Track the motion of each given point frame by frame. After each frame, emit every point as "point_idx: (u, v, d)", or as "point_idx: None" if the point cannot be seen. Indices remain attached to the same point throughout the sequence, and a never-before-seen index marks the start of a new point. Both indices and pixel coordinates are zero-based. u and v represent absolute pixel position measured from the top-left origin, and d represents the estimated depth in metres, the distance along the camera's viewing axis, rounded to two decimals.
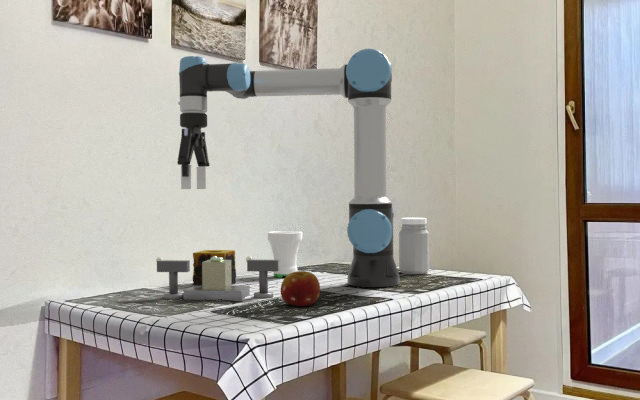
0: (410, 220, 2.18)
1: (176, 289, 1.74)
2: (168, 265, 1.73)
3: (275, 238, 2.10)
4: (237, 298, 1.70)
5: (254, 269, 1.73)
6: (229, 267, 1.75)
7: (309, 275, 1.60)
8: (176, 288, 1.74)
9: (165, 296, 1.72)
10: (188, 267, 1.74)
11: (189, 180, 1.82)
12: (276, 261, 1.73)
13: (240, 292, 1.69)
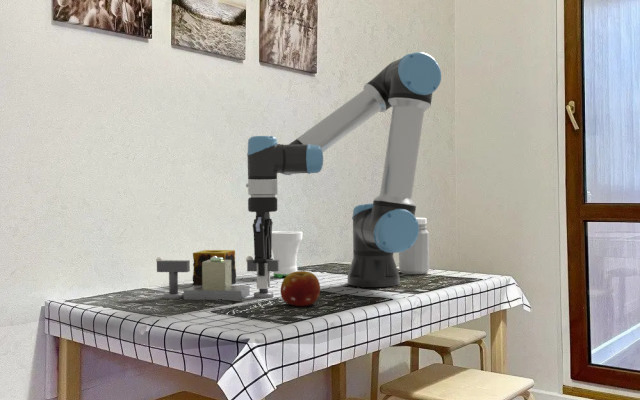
0: None
1: (176, 289, 1.74)
2: (168, 265, 1.73)
3: (275, 238, 2.10)
4: (237, 298, 1.70)
5: (254, 269, 1.73)
6: (229, 267, 1.75)
7: (309, 275, 1.60)
8: (176, 288, 1.74)
9: (165, 296, 1.72)
10: (188, 267, 1.74)
11: (265, 279, 1.72)
12: (276, 261, 1.73)
13: (240, 292, 1.69)
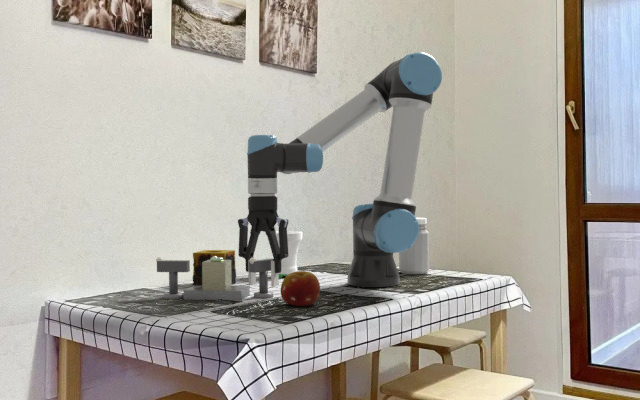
0: None
1: (176, 289, 1.74)
2: (168, 265, 1.73)
3: None
4: (237, 298, 1.70)
5: (260, 270, 1.72)
6: (229, 267, 1.75)
7: (309, 275, 1.60)
8: (176, 288, 1.74)
9: (165, 296, 1.72)
10: (188, 267, 1.74)
11: (277, 276, 1.74)
12: None
13: (240, 292, 1.69)
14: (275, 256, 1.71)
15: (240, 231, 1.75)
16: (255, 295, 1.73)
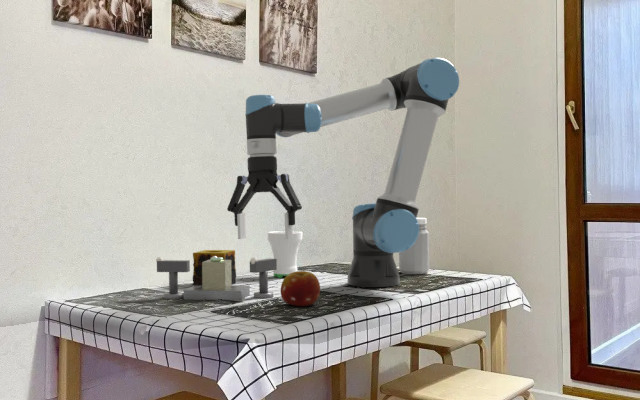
0: None
1: (176, 289, 1.74)
2: (168, 265, 1.73)
3: (275, 238, 2.10)
4: (237, 298, 1.70)
5: (261, 270, 1.72)
6: (229, 267, 1.75)
7: (309, 275, 1.60)
8: (176, 288, 1.74)
9: (165, 296, 1.72)
10: (188, 267, 1.74)
11: (291, 229, 1.72)
12: (275, 259, 1.76)
13: (240, 292, 1.69)
14: (288, 208, 1.70)
15: (236, 188, 1.75)
16: (255, 295, 1.73)
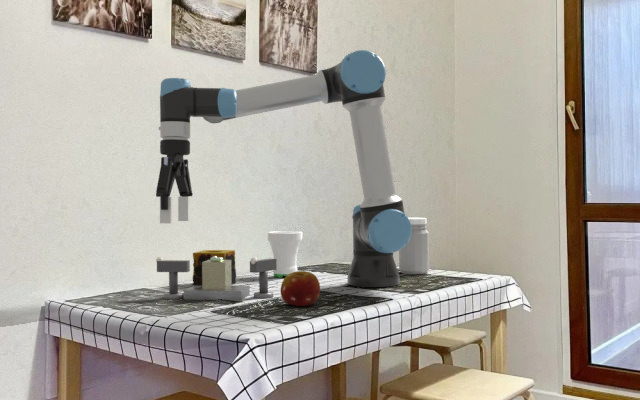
0: (410, 220, 2.18)
1: (176, 289, 1.74)
2: (168, 265, 1.73)
3: (275, 238, 2.10)
4: (237, 298, 1.70)
5: (261, 270, 1.72)
6: (229, 267, 1.75)
7: (309, 275, 1.60)
8: (176, 288, 1.74)
9: (165, 296, 1.72)
10: (188, 267, 1.74)
11: (168, 214, 1.67)
12: (275, 259, 1.76)
13: (240, 292, 1.69)
14: None
15: None
16: (256, 295, 1.73)
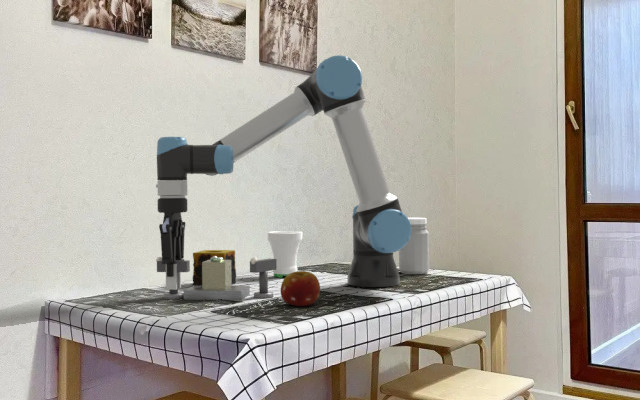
0: (410, 220, 2.18)
1: (176, 289, 1.74)
2: None
3: (275, 238, 2.10)
4: (237, 298, 1.70)
5: (261, 270, 1.72)
6: (229, 267, 1.75)
7: (309, 275, 1.60)
8: None
9: (165, 296, 1.72)
10: (188, 267, 1.74)
11: (174, 280, 1.72)
12: (275, 259, 1.76)
13: (240, 292, 1.69)
14: None
15: None
16: (256, 295, 1.73)
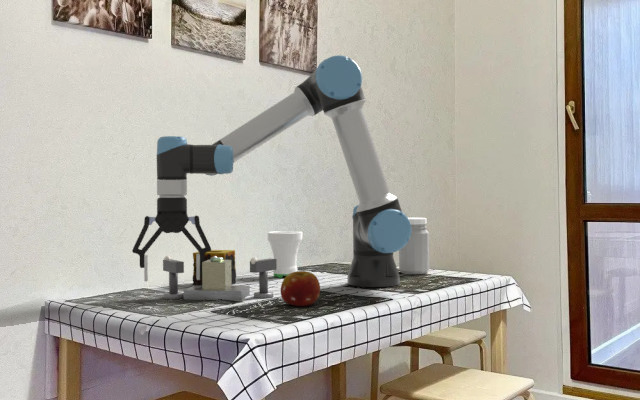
0: (410, 220, 2.18)
1: (173, 289, 1.73)
2: (167, 265, 1.74)
3: (275, 238, 2.10)
4: (237, 298, 1.70)
5: (261, 270, 1.72)
6: (229, 267, 1.75)
7: (309, 275, 1.60)
8: (173, 288, 1.73)
9: None
10: (180, 268, 1.71)
11: (144, 272, 1.72)
12: (275, 259, 1.76)
13: (240, 292, 1.69)
14: None
15: None
16: (256, 295, 1.73)
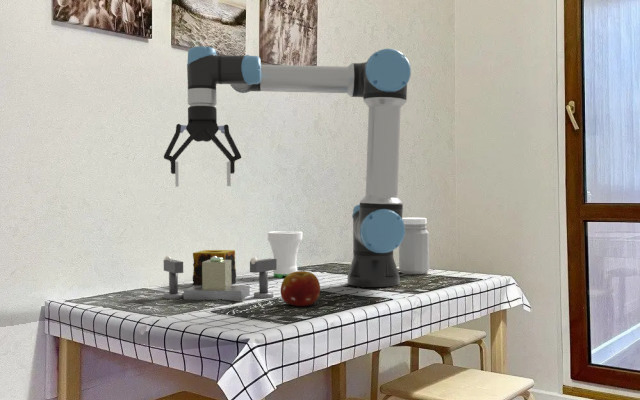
0: (410, 220, 2.18)
1: (173, 289, 1.73)
2: (167, 265, 1.74)
3: (275, 238, 2.10)
4: (237, 298, 1.70)
5: (261, 270, 1.72)
6: (229, 267, 1.75)
7: (309, 275, 1.60)
8: (173, 288, 1.73)
9: None
10: (179, 268, 1.71)
11: (175, 177, 1.77)
12: (275, 259, 1.76)
13: (240, 292, 1.69)
14: None
15: None
16: (256, 295, 1.73)
